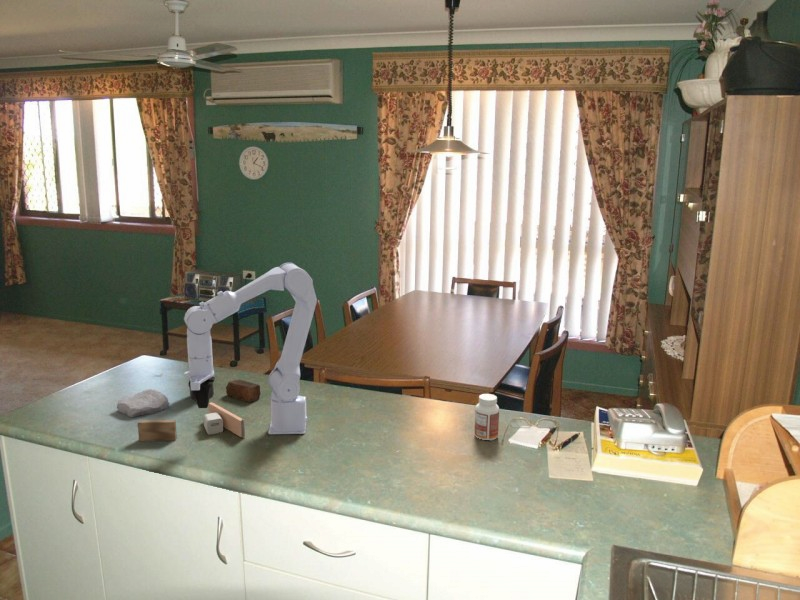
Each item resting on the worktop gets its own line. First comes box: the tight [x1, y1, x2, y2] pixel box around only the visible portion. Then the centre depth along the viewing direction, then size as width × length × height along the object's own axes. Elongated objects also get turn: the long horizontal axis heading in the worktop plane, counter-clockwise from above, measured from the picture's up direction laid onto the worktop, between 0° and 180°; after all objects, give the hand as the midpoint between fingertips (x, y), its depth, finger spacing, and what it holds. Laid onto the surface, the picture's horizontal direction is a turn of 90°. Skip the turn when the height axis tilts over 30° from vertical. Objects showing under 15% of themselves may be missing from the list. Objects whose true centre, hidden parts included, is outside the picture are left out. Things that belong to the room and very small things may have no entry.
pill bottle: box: [474, 393, 500, 441], centre depth 162 cm, size 6×6×11 cm
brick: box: [225, 379, 261, 403], centre depth 186 cm, size 11×4×5 cm, turn 58°
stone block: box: [116, 388, 170, 418], centre depth 176 cm, size 12×5×10 cm
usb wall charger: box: [203, 412, 224, 435], centre depth 165 cm, size 4×7×4 cm, turn 28°
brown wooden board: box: [137, 419, 178, 442], centre depth 157 cm, size 9×1×5 cm, turn 95°
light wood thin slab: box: [208, 401, 246, 438], centre depth 164 cm, size 17×1×5 cm, turn 46°
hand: (203, 407), depth 155 cm, fingers closed
